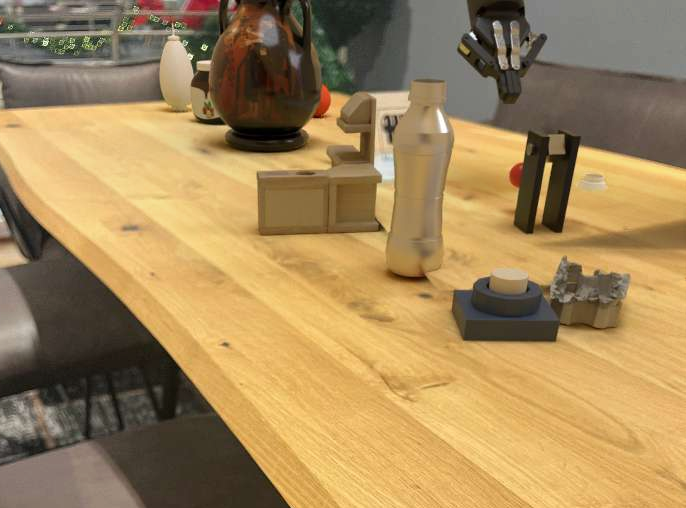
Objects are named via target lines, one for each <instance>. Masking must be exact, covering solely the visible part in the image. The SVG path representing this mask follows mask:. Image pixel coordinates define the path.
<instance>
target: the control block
mask: <svg viewBox="0 0 686 508" xmlns="http://www.w3.org/2000/svg"><path fill="white" fill-rule="evenodd" d="M490 277H491V275H489V276H485V277H479V278H478V279H477V280H476V281H475V282H473V283H472V289H454V290H453V294H452V302H451V312H452V315H453V317H454V321H455V323H456V325H457V327H458V330H459V333H460V335H461V338H462V340H463V341H464V342H465V341H467V342H469V341H470V342H537V343H539V342H544V343H545V342H547V343H548V342H550V343H552V342H554V343H555V342H557V337H558V333H559V328H560V324H561V323H560V320H559V318H558V317H557V315H556V314H555V312H554V311H553V309H552V308H551V304H550V303H549V302H548V300H547V299H546V297H545V295H544V294H543V293H544V290H543V288H542V287H541V286H540V284H538V283H536V282H535V281H533V280H530V279H528V284H527V289H526V293H523V294H518V295H506V294H501V293H496V292H494V291H492V290H490V289H489V283H490Z"/></svg>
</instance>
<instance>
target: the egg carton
mask: <svg viewBox="0 0 686 508" xmlns="http://www.w3.org/2000/svg"><path fill="white" fill-rule="evenodd" d="M568 282H571V283H568ZM572 282H573V283H572ZM630 283H631V273H619V272H614V270H611V271H610V273H603V272H602V271H601V269H595V270H594V271H593V275H591V274H583V265H582V264H580V263H579V262H574V261H572V262H570V261H568V255H563V256H562V258H561V260H560V262H559V264H558V266H557V270H556V273H555V274H554V276H553V279H552V281H551V284H550V285H549V286H550V288H549V290H550V291H549V295H550V297H549V302H550V306H551V308H552V309H553V311H554V312H555V314H556V315H557V317H558V318H559V320H560V324H562V325H567V326H570V325H571V324H586V325H588V326H591V327H593V328H598V329H607V328H616V327H617V325H618V321H619V317H620V313H621V311H622V310H621V309H622V305H623V304H622V303H623V302H622V300H624V299H627V295H628V290H629V286H630Z"/></svg>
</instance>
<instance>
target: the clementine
mask: <svg viewBox="0 0 686 508" xmlns="http://www.w3.org/2000/svg"><path fill="white" fill-rule="evenodd" d="M331 101H332V97H331V89H330V87H329V85H327V84H326V83H322V97H321V100H320V103H319V106H318V108H317V110H316V112H315V114H314V115H313V117H314V118H319V117H321V116H323V115H325V114H327V112H328V110H329V109H330V107H331V103H332V102H331ZM313 117H312V118H313Z"/></svg>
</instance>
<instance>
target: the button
mask: <svg viewBox="0 0 686 508" xmlns="http://www.w3.org/2000/svg"><path fill="white" fill-rule="evenodd" d="M490 276H491V277H490V283H489V289H490V290H492V291H494V292H496V293H501V294H506V295H518V294H523V293H526V289H527V284H528V280H529V277H530V275H529V273H528V272H527V271H525V270H523V269H521V268H517V267H516V268H515V267H497V268H494V269H492V270H491V271H490Z"/></svg>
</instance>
